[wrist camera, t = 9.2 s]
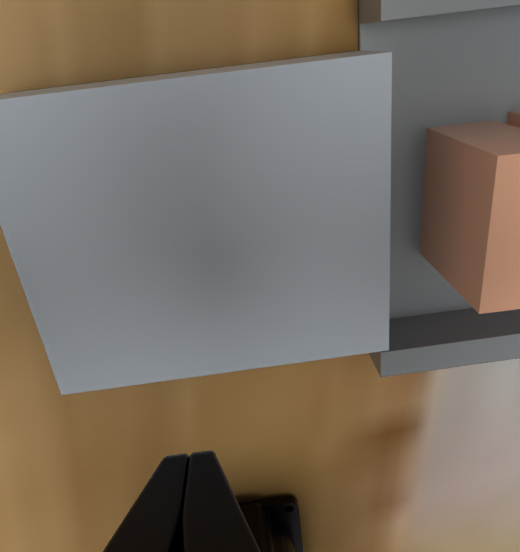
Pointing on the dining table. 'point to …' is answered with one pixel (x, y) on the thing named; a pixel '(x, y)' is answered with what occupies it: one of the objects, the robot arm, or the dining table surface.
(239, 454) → the dining table surface
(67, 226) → the light grey slab
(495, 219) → the tile
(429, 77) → the tray
